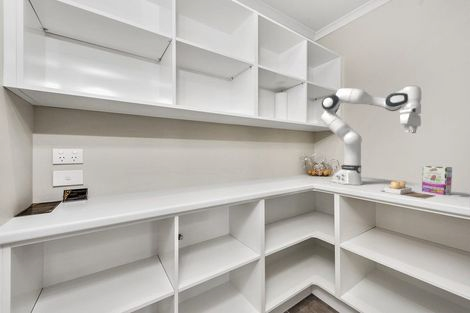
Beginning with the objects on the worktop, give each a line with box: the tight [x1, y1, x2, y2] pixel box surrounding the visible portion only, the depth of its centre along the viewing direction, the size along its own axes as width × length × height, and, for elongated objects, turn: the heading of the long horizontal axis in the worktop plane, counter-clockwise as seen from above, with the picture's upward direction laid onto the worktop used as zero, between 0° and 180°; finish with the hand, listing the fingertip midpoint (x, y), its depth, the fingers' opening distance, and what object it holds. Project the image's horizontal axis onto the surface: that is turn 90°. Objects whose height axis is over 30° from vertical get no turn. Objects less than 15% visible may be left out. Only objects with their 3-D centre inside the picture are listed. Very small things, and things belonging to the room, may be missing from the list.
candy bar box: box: [421, 165, 453, 196], centre depth 111 cm, size 11×5×16 cm, turn 13°
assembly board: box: [381, 189, 436, 200], centre depth 109 cm, size 20×15×1 cm
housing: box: [384, 180, 413, 195], centre depth 112 cm, size 8×14×6 cm, turn 118°
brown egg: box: [390, 180, 400, 189], centre depth 111 cm, size 4×4×6 cm
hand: (410, 132), depth 124 cm, fingers open, 8 cm apart
